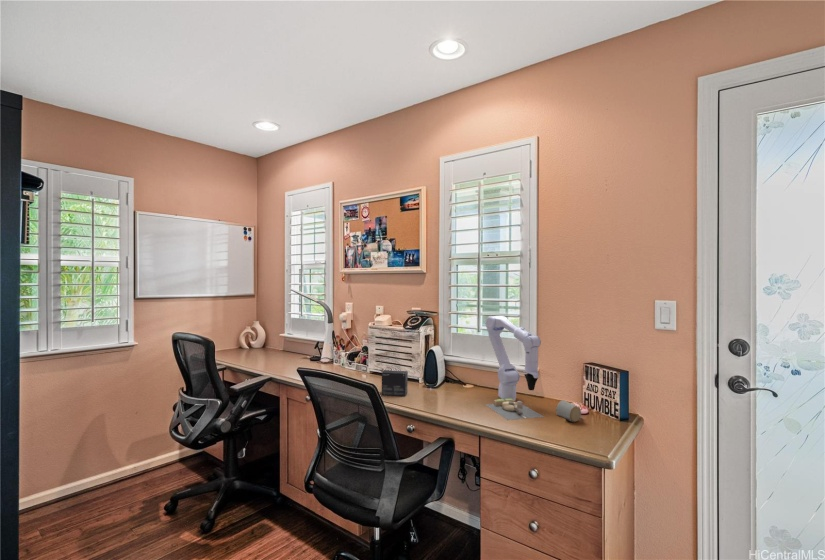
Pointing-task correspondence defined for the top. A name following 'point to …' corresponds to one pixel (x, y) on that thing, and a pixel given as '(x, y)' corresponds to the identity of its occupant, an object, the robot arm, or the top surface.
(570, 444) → the top surface
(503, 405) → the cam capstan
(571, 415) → the ceramic mug
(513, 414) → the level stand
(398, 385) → the small box
